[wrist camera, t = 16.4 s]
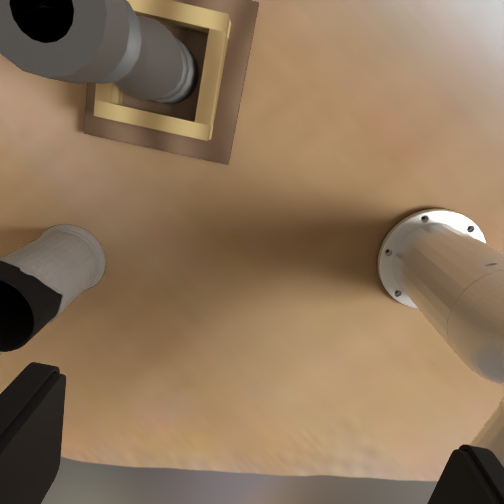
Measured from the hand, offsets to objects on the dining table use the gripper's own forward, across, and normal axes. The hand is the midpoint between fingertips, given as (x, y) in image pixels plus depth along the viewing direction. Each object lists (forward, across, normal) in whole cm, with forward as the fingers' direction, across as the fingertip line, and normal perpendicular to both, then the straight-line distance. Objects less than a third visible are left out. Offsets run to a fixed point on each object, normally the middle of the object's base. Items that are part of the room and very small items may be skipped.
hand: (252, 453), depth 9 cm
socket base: (+38, +12, -10) cm, 41 cm away
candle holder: (+37, +12, -10) cm, 40 cm away
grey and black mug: (+38, +22, +16) cm, 47 cm away
